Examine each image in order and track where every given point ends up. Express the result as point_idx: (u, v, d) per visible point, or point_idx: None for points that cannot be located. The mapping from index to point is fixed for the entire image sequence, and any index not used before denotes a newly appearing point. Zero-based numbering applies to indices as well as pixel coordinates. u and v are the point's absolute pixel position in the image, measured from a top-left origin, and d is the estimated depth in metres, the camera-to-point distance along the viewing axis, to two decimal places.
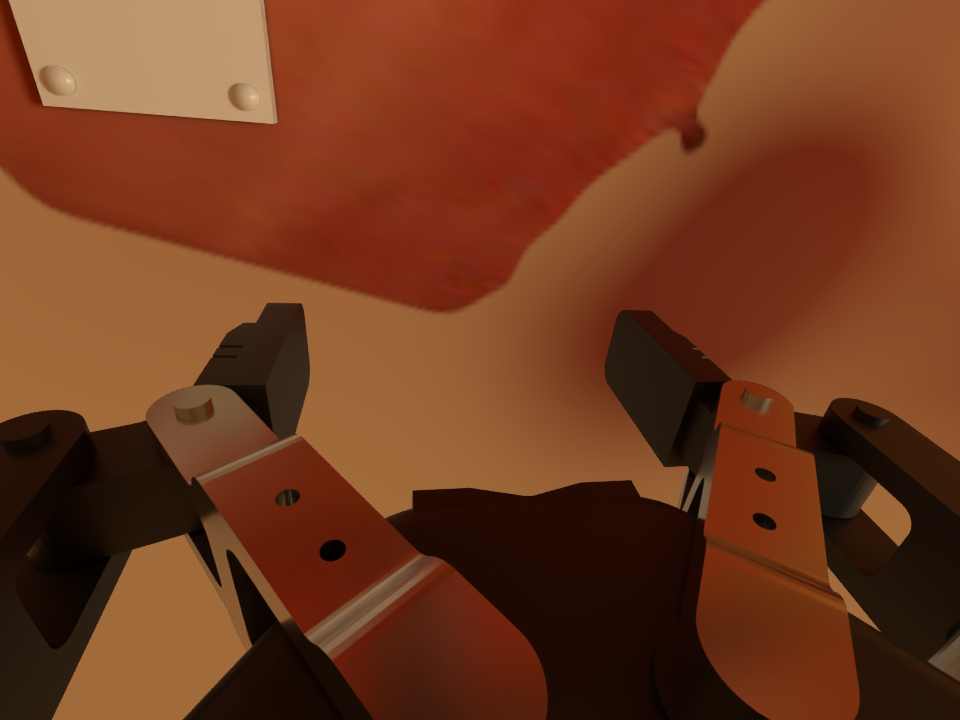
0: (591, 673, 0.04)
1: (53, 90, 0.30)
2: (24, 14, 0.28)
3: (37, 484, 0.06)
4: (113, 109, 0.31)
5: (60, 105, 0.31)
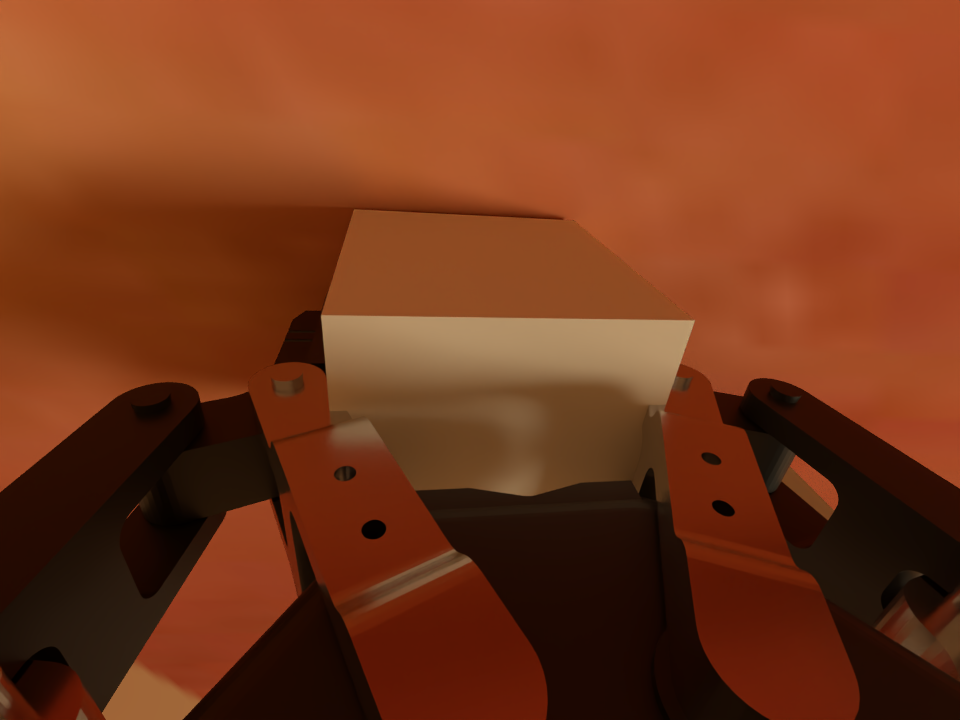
0: (591, 673, 0.04)
1: None
2: None
3: (150, 448, 0.06)
4: None
5: None
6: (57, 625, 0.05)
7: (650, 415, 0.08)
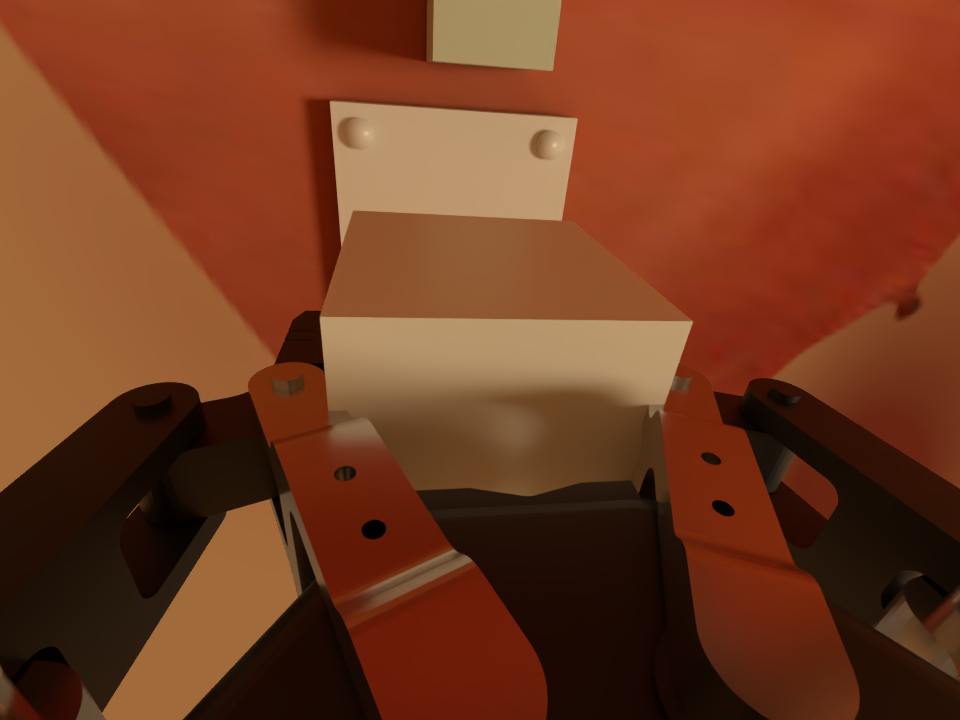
0: (591, 673, 0.04)
1: None
2: None
3: (150, 448, 0.06)
4: None
5: None
6: (57, 625, 0.05)
7: (650, 415, 0.08)
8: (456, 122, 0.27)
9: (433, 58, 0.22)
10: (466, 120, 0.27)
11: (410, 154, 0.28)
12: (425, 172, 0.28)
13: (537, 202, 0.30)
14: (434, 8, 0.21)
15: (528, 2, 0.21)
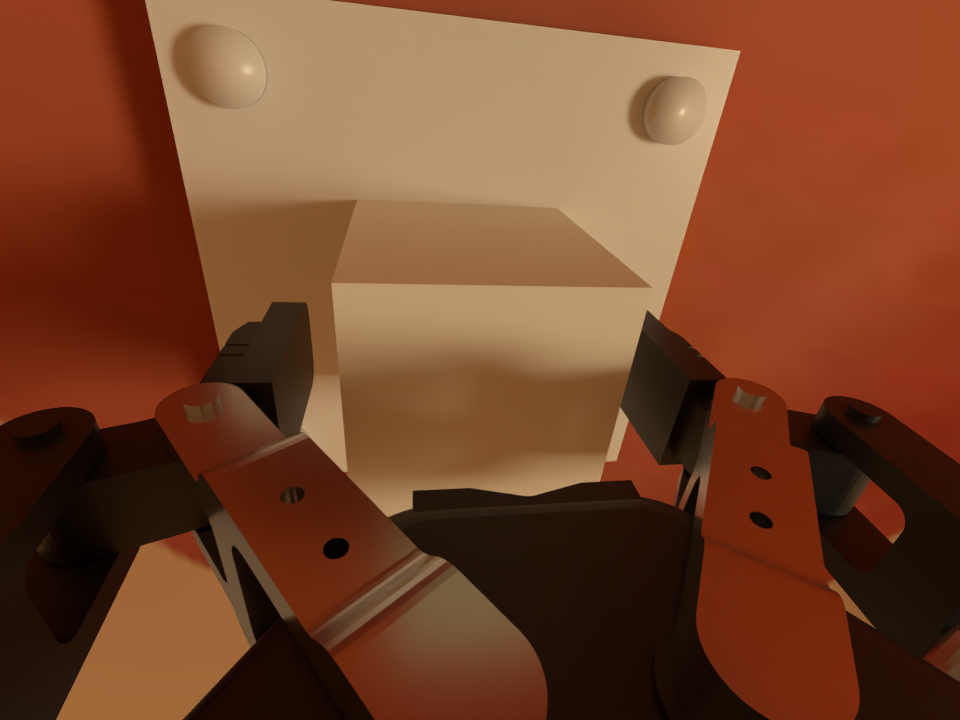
0: (592, 673, 0.04)
1: None
2: None
3: (47, 480, 0.06)
4: None
5: None
6: None
7: (710, 427, 0.08)
8: (465, 48, 0.11)
9: None
10: (489, 44, 0.11)
11: (357, 124, 0.12)
12: (393, 167, 0.13)
13: (631, 235, 0.14)
14: None
15: None
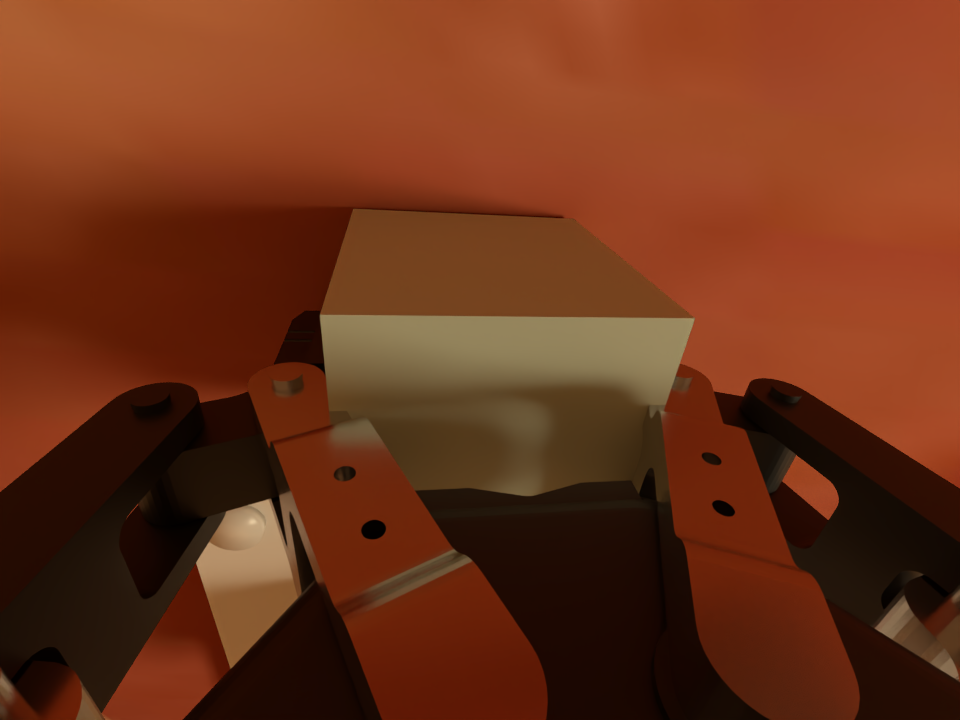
0: (590, 672, 0.04)
1: None
2: None
3: (150, 449, 0.06)
4: None
5: None
6: (57, 625, 0.05)
7: (651, 415, 0.08)
8: None
9: None
10: None
11: None
12: None
13: None
14: None
15: (567, 472, 0.09)
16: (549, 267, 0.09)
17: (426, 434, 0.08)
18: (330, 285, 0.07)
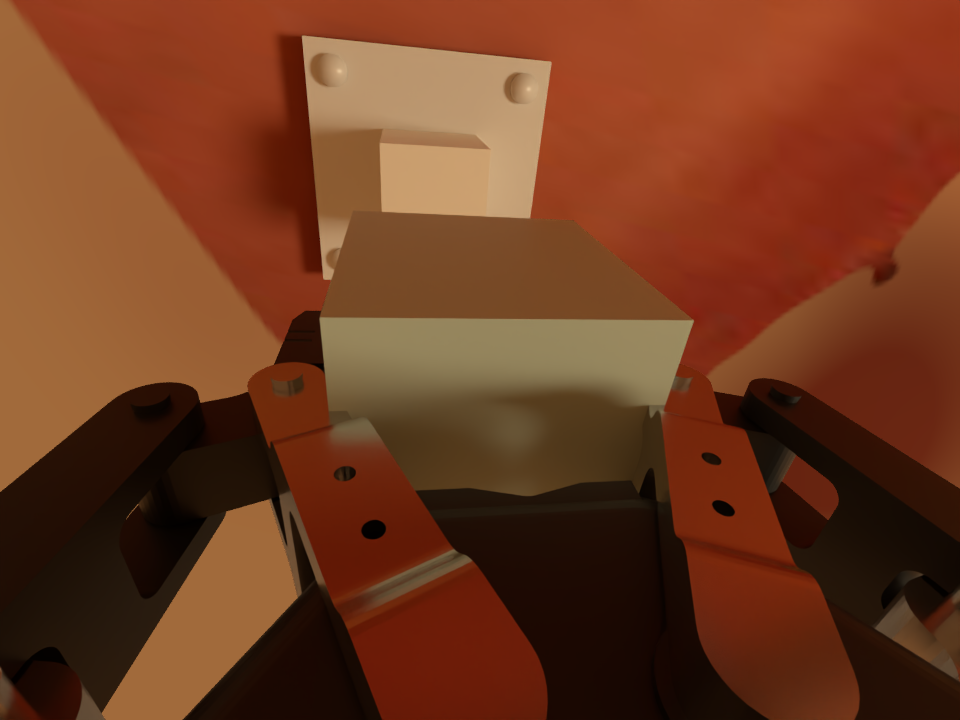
0: (592, 672, 0.04)
1: None
2: (326, 208, 0.31)
3: (150, 448, 0.06)
4: None
5: None
6: (57, 625, 0.05)
7: (650, 415, 0.08)
8: (429, 61, 0.27)
9: None
10: (439, 60, 0.27)
11: (383, 94, 0.28)
12: (399, 114, 0.28)
13: (512, 149, 0.30)
14: None
15: (567, 473, 0.09)
16: (549, 269, 0.09)
17: (426, 436, 0.08)
18: (330, 288, 0.07)
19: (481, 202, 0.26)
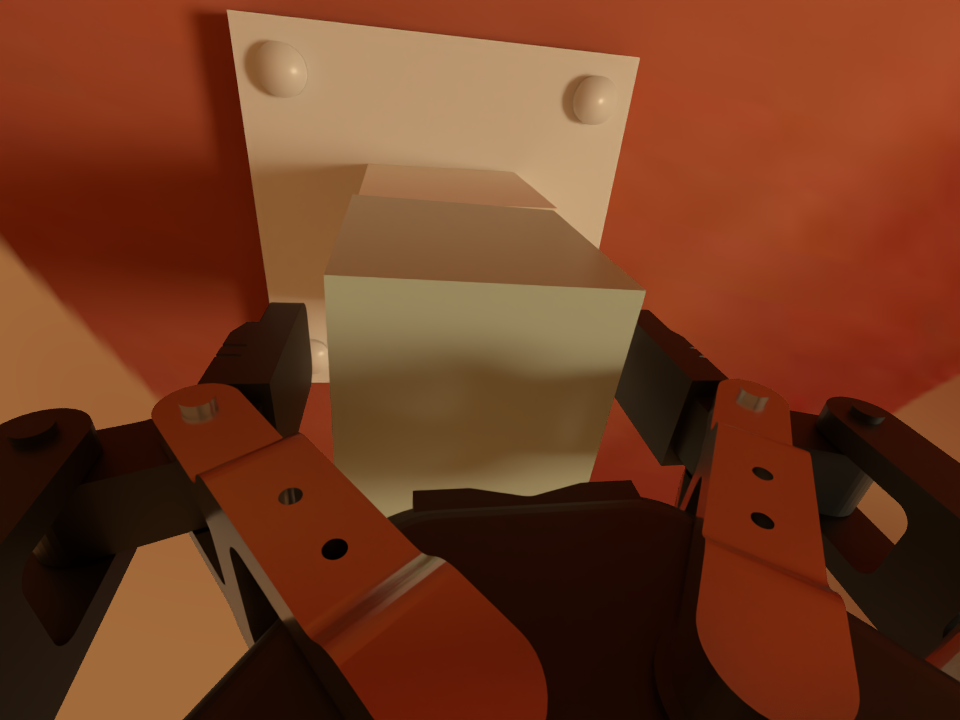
0: (592, 674, 0.04)
1: None
2: (281, 283, 0.20)
3: (43, 482, 0.06)
4: None
5: None
6: None
7: (712, 427, 0.08)
8: (444, 56, 0.17)
9: None
10: (460, 53, 0.17)
11: (369, 109, 0.17)
12: (394, 140, 0.18)
13: (570, 193, 0.20)
14: (335, 450, 0.09)
15: (537, 427, 0.10)
16: (526, 247, 0.10)
17: (413, 387, 0.09)
18: (332, 253, 0.09)
19: None
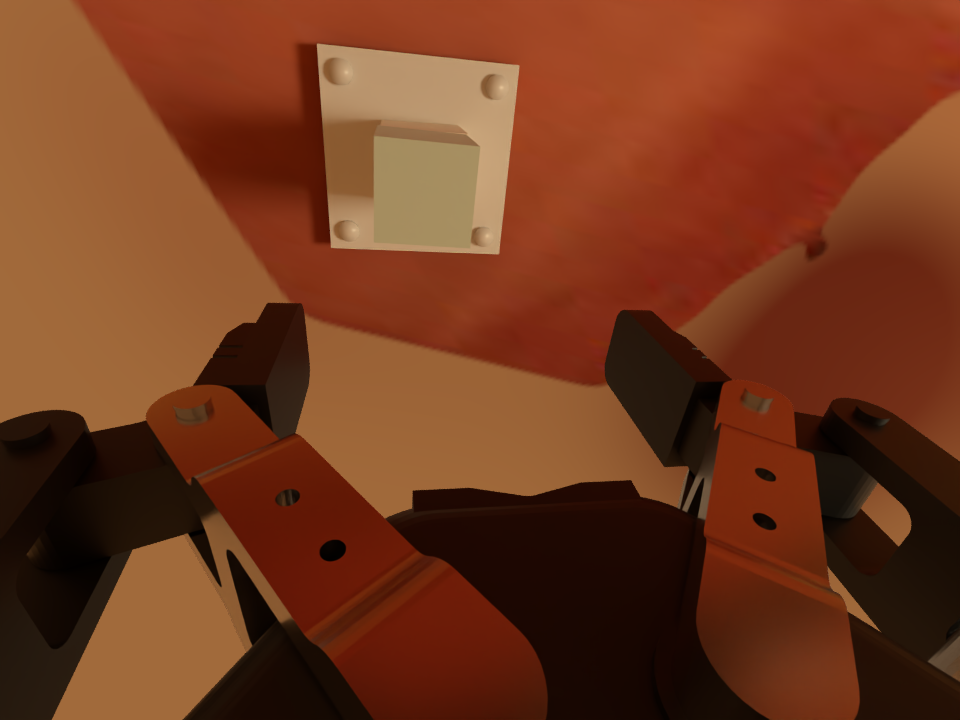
0: (592, 673, 0.04)
1: (342, 237, 0.39)
2: (334, 186, 0.37)
3: (37, 484, 0.06)
4: (381, 248, 0.40)
5: (343, 247, 0.39)
6: None
7: (715, 428, 0.08)
8: (419, 65, 0.34)
9: (374, 240, 0.28)
10: (428, 63, 0.34)
11: (382, 91, 0.34)
12: (395, 107, 0.35)
13: (489, 137, 0.37)
14: (374, 208, 0.27)
15: (448, 204, 0.27)
16: (444, 138, 0.27)
17: (402, 181, 0.26)
18: None
19: None
